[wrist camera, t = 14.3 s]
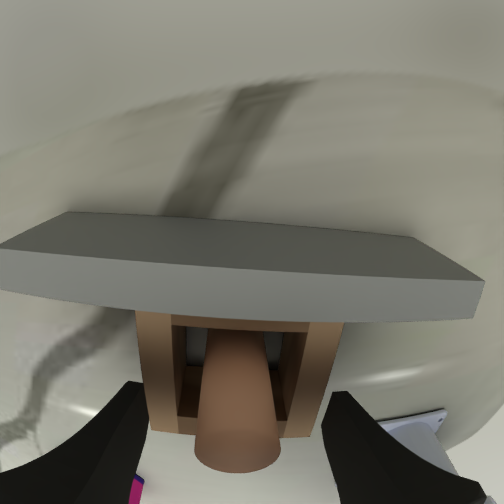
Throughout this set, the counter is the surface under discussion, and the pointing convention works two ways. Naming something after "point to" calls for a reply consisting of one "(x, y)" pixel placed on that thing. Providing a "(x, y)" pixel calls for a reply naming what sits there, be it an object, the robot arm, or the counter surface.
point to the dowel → (236, 404)
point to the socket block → (190, 377)
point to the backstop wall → (236, 270)
